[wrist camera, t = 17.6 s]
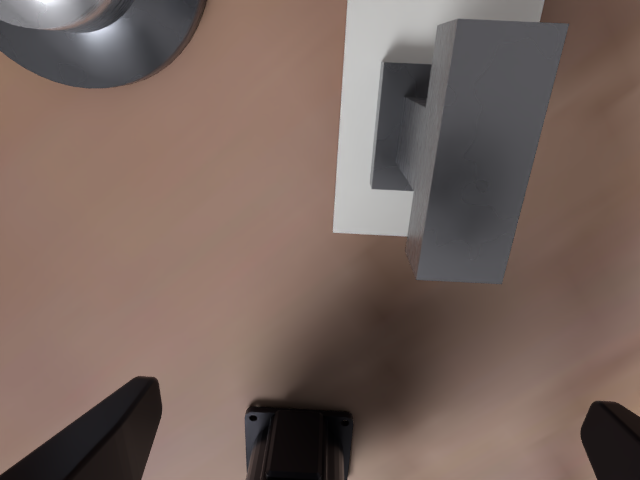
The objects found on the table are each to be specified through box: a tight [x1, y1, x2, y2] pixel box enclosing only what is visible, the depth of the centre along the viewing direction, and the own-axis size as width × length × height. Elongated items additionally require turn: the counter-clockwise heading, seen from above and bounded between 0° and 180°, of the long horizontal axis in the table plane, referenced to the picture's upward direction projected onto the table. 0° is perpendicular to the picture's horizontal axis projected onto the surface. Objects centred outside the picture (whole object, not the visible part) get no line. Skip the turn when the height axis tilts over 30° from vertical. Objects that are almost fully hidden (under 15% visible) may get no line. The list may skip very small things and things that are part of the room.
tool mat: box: [333, 0, 545, 236], centre depth 18 cm, size 10×7×1 cm
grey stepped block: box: [370, 19, 569, 284], centre depth 14 cm, size 7×4×7 cm, turn 177°
